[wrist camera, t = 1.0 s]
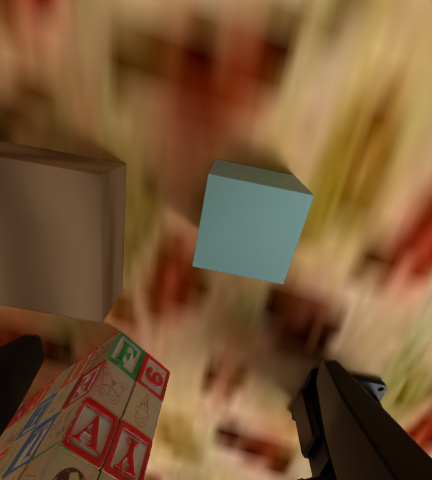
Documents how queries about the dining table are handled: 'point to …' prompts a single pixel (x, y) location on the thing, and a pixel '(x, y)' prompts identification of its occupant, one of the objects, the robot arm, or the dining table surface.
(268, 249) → the teal cube
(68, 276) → the walnut block
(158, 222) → the dining table surface
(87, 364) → the stack of blocks
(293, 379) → the dining table surface
